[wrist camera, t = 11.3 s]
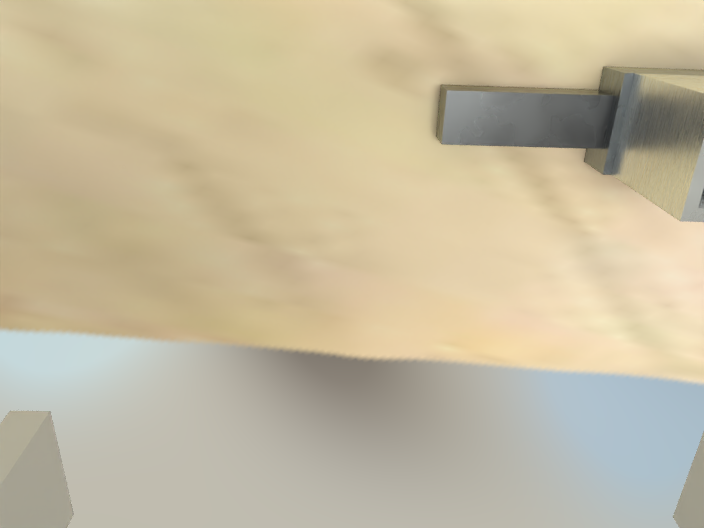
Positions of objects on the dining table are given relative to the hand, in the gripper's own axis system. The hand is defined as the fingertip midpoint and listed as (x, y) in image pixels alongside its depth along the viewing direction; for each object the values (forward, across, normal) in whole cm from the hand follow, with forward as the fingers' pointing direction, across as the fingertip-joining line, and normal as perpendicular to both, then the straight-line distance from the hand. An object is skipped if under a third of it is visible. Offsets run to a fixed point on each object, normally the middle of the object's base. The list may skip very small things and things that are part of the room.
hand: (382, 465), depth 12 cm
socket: (+26, +19, +2) cm, 32 cm away
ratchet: (+29, +14, +2) cm, 32 cm away
